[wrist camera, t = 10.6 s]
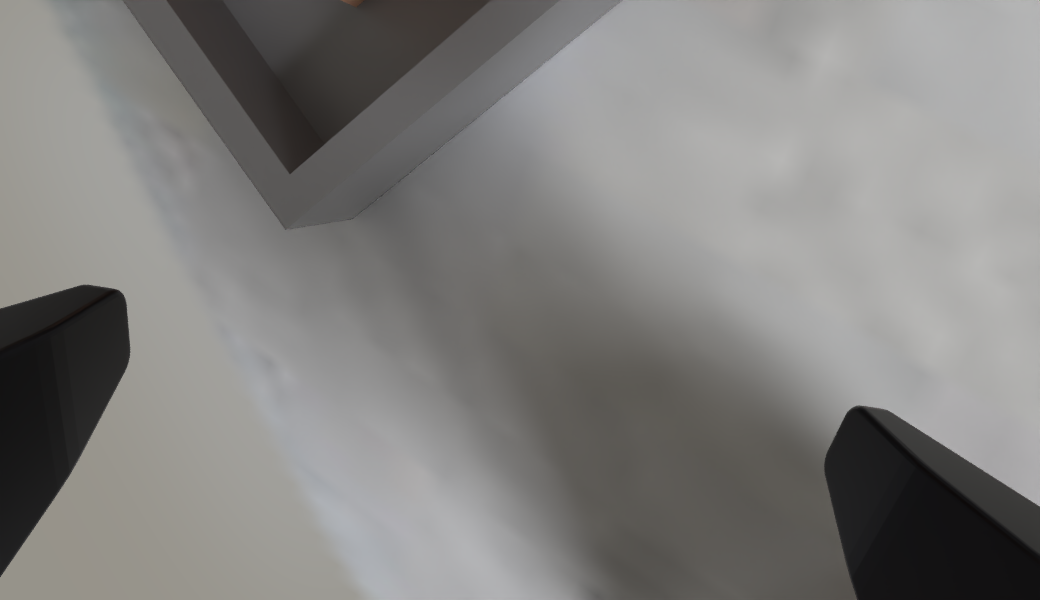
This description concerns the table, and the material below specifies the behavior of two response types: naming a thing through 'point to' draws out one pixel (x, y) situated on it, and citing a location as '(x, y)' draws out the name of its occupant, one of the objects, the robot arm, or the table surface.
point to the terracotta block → (353, 2)
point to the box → (350, 83)
